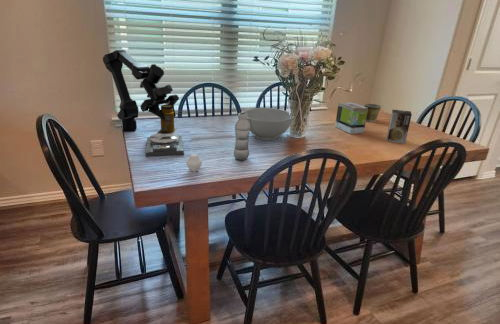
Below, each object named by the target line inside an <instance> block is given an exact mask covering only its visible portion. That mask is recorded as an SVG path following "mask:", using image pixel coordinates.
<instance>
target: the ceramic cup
mask: <svg viewBox="0 0 500 324" xmlns="http://www.w3.org/2000/svg"><path fill="white" fill-rule="evenodd" d="M363 106H365V107H368V112H367V118H366V122H368V123H374V122H376V121H377V118H378V116H379V114H380V111H381V108H382V106H381V105H380V104H375V103H364V105H363Z"/></svg>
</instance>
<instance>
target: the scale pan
mask: <svg viewBox="0 0 500 324" xmlns="http://www.w3.org/2000/svg"><path fill="white" fill-rule="evenodd" d="M179 136H180V135H179V134H177V133H175V132H174V133H173V135H169V134H158V133H157V132H156V133H153V134H151V135H150V136H149V137H150V141H151V142H153V143H157V144H169V143H174V142H176V141H178V140H179Z"/></svg>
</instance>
